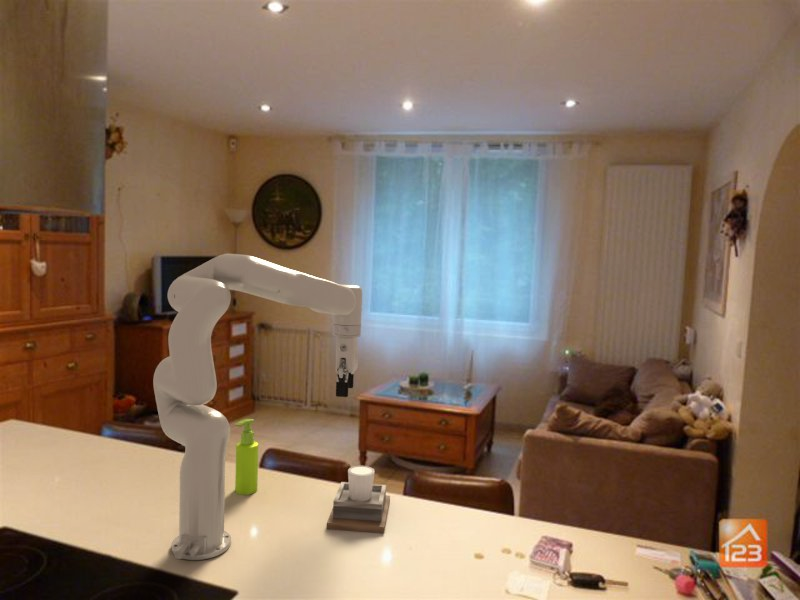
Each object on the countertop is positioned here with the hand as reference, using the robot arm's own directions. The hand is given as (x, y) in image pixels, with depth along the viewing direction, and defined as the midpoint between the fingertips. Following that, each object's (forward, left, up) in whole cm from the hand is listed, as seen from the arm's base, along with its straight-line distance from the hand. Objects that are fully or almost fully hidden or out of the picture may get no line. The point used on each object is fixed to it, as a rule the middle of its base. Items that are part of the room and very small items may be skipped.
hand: (344, 392), depth 161 cm
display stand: (-13, -7, -28) cm, 32 cm away
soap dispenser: (-4, +26, -28) cm, 39 cm away
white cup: (-13, -7, -24) cm, 28 cm away
